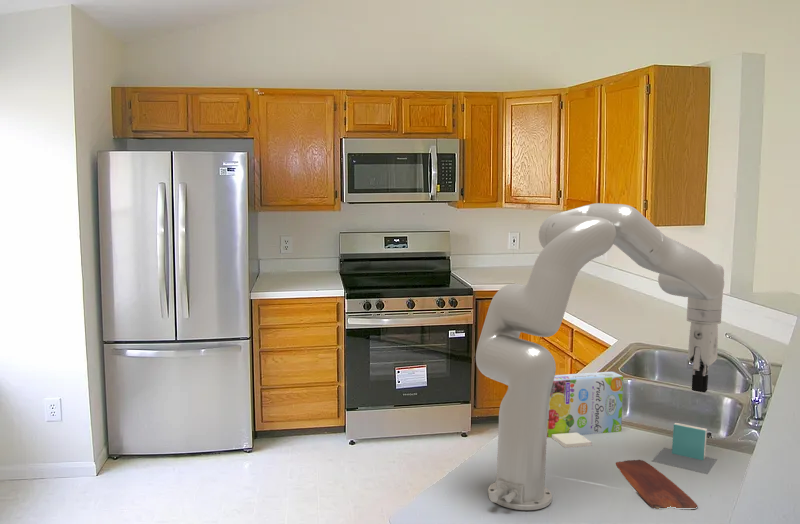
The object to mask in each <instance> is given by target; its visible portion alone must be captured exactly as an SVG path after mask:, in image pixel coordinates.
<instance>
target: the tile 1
mask: <svg viewBox="0 0 800 524" xmlns="http://www.w3.org/2000/svg"><path fill="white" fill-rule="evenodd" d="M551 439H552V440H554V441H555V442H557V443H558V444H559V445H561V446H562V447H564V448H565V449H571V448H579V447H580V448H582V447H592V446H593V445H592V444H593V443H592V441H591V440H589V439H588V438H586V437H585V436H583V435H580V434H579V433H577V432H575V433H563V434H552V437H551Z"/></svg>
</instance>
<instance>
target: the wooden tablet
mask: <svg viewBox="0 0 800 524" xmlns="http://www.w3.org/2000/svg"><path fill="white" fill-rule="evenodd" d="M615 466H616V467H617V469H618V470H619V471H620V473H621V475H622V476H623V477H624V478H625V479H626V480H627V482H628V483H629V484H630V485H631V487H633V489H634V490H636V491H635V492H637V494H638V495H639V496H640V497H641V498H642V500H643V501H644V502H645V503H647V505H648V506H649V507H651V508H652V509H654V508H657V509H656V510H660V509H659V508H667V507H670V506H671V507H676V508H696V507H697V508H698V505H697V503H696V502H695V501H694V500H693V499H692V497H690V496H689V494H687V492H685V491H684V490H683V489H682V488H680V487H679V486H678V485H677V484H676V483H674V482H673V481H672V480H671V479H669V478H668V477H666V475H664V474H663V473H662V472H661V471H660V470H658V469H657V468H655V467H654V466H653V465H651V464H650V463H648V461H646V460H642V459H633V460H632V459H630V460H628V459H627V460H623V461H617V462H615Z"/></svg>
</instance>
